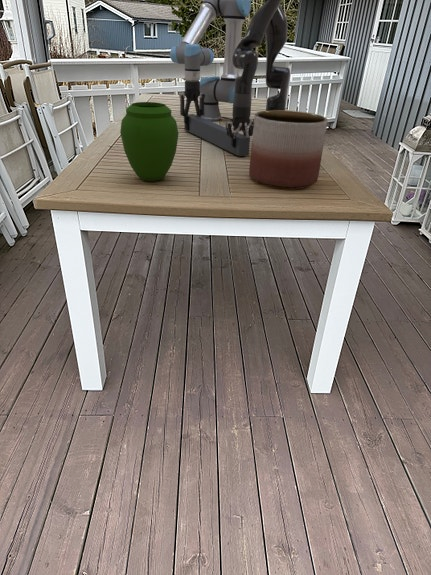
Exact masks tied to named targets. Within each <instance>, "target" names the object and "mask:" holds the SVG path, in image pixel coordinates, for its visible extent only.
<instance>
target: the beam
mask: <svg viewBox="0 0 431 575" xmlns="http://www.w3.org/2000/svg"><path fill="white" fill-rule="evenodd" d="M187 117H189V131H188V132H189V133H191V134H193V135H194V136H197V137H199V138H201V139H203V140H205V141H207V142H209V143H211V144H213V145H215V146H217V147H219V148H221V149H223V150H225V151H227V152H229V153H231V154H234V155H235V156H237V157H245V156H246V157H247V156H250V146H251V136H250V137H247V136H245V135H244V134H243V133H240V132H239V133H238V134H237V136H236V147H235V148H233V147H232V146H231V138H230V137H228V136H227V131H226V126H223V125H221V124H218V123H217V122H214V121H209V120H206V119H204V118H201V117H199V116H196V114H194V113H188V116H187ZM183 123H184V122H183ZM183 129H184V130H185V123H184V128H183Z"/></svg>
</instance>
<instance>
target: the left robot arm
mask: <svg viewBox="0 0 431 575" xmlns="http://www.w3.org/2000/svg"><path fill="white" fill-rule="evenodd" d="M251 2H252V1H251V0H203V1H202V2H201V4H200V6H199V12H198V13H197V15H196V16H195V18H194V20H193V21H192V23H191V25H190V26H189V28H188V29H187V31H186V33H185V34H184V36H183V38H182V40H181V41H180V42H179V45H176V46H172V47H171V48H170V52H169V57H170V61H171V62H172V63H174V64H179V65H184V80H185V81H184V92H183V93H182V94H180V93H179V95H178V97H179V100H180V102H179V106H180V107H179V114H180V116H182V117H183V123H185V129H184V130H185V131H187V132H189V117H187V116H188V114H189V113H190V112H189V111H190V107H191V104H192V102H193V105H194V108H195V113H196V114H195V115H196V116H199V117H201V118H204V119H206V120H209V121H211V122H218V121H221V120H222V119H225V120H228V121H232V119H233V118H229V117H225V116H222V114H221V110H220V107H219V105H220V103H225V104H226V103H227V104H233V98H234V89H235V79H236V78H237V77H238V76H240V69H238V68H236V67H234V65H233V62H232V57H233V53H234V51H235V49H236V47H237V46H238V44H239V43H240V41H241V40H242V35H243V34H242V33H243V24H244V23H245V22H246V19H247V17H248V16H249V15H250V13H251V8H252V3H251ZM219 16H223V20H224V22H225V38H224V39H225V40H224V41H225V42H224V58H223V73H222V74H221V76H206V77H201V67H207V66H210V65H211V64H213V62H214V60H215V55H214V54H215V53H214V52H213V50H212V49H211V48H206V47H204V48H201V45H200V44H199V43H200V41H201V39H202V38H203V36H204V35H205V33H206V31H207V30H208V28H209V26H210V24H211V23H212V22H213V21H214V20H216V17H219ZM185 99H186V100H185ZM219 102H220V103H219ZM250 121H253V119H252V120H251V119H250Z"/></svg>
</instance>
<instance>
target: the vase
mask: <svg viewBox="0 0 431 575" xmlns="http://www.w3.org/2000/svg"><path fill="white" fill-rule="evenodd" d="M125 113H126V114H125V115H124V117H122V119H121V122H120V123H121V124H120V130H119V133H120V138H121V142H122V147H123V150H124V154H125V155H126V158H127V160H128V163H129V165H130V167H131V168H132V170H133V172H134V173H135V175H136V176H137V177H138V178H139V179H141V180H143V181H145V182H159V181H161V180H163V179H164V178H165V176H166V175H167V174H168V173H169V170H170V169H171V167H172V165H173V162H174V159H175V157H176V156H175V155H176V153H177V147H178V140H179V129H178V122H177V120H176V119H175V117H174V116H173V115H172V109H171V108H170V107H169V106H167V105H166V104H164V103H162V102H155V101H138V102H132V103H131V104H130V105H128V107H127V108H125Z"/></svg>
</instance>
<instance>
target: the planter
mask: <svg viewBox="0 0 431 575" xmlns="http://www.w3.org/2000/svg"><path fill="white" fill-rule="evenodd" d="M253 119H254V127H253V135H252V137H251V138H252V139H251V147H250V148H251V149H250V155H249V156H250V157H249V165H248V166H249V167H248V174H249V177H251V179H252V180H254V181H255V182H257V183H259V184H261V185H264V186H268V187H271V188H276V189H289V190H291V189H292V190H293V189H302V188H306V187H310V186H312V185H314V184H316V183H317V182H318V180H319V175H320V169H321V163H322V157H323V156H322V155H323V150H324V145H325V139H326V132H327V127H328V122H329V119H328V118H327V117H325V116H323V115H321V114H317V113H312V112H306V111H297V110H286V109H285V110H268V111H266V110H260V111H257V112H255V113H254V118H253Z"/></svg>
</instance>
